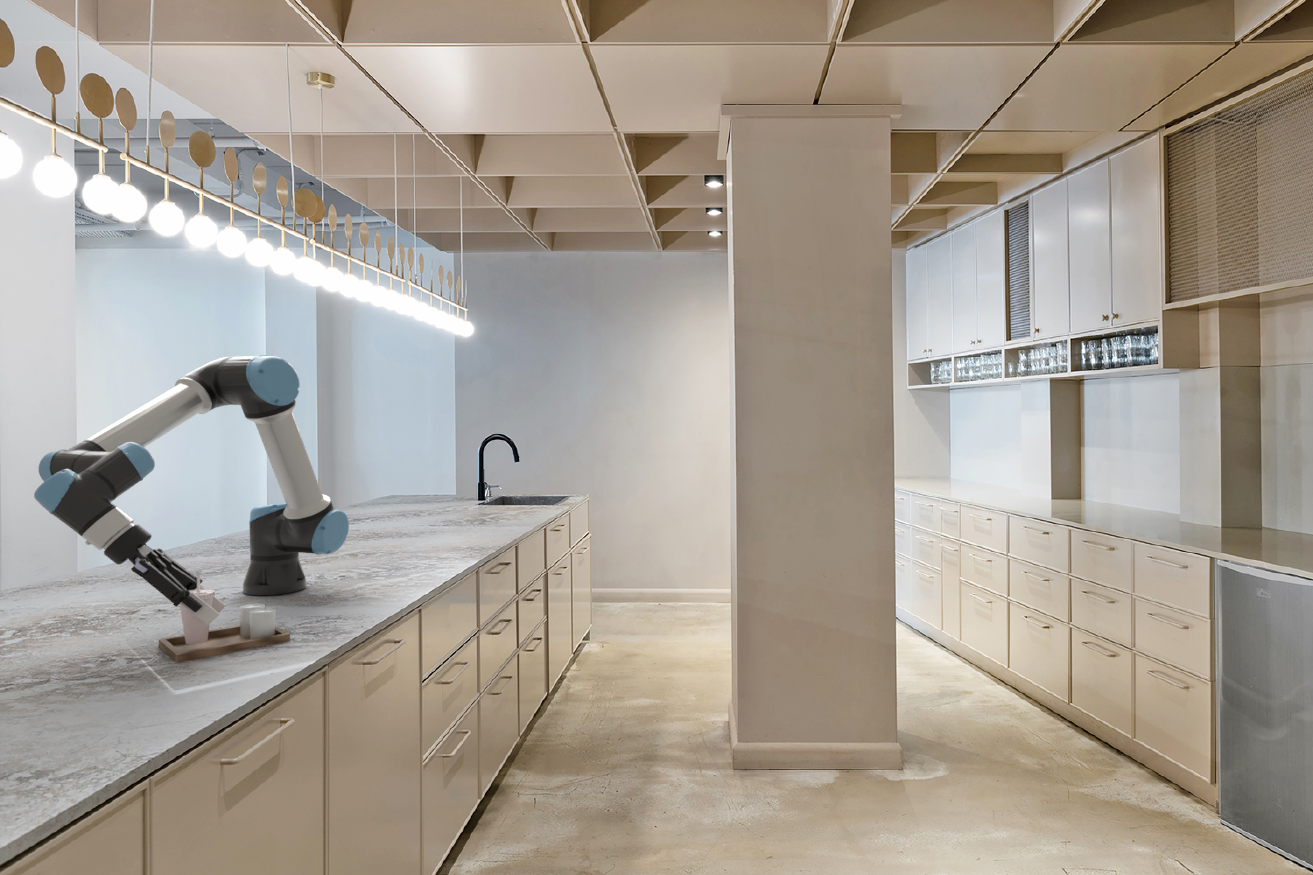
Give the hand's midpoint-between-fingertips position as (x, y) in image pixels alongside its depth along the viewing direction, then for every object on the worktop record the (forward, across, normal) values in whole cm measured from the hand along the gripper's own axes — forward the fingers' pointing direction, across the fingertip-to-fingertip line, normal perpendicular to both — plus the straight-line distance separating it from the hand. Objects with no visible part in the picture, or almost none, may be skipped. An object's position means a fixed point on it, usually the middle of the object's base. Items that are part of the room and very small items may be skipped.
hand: (217, 614), depth 151 cm
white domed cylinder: (+10, -2, +1) cm, 10 cm away
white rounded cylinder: (+8, -7, -1) cm, 11 cm away
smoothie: (+1, 0, -6) cm, 6 cm away
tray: (+6, -2, -4) cm, 7 cm away
